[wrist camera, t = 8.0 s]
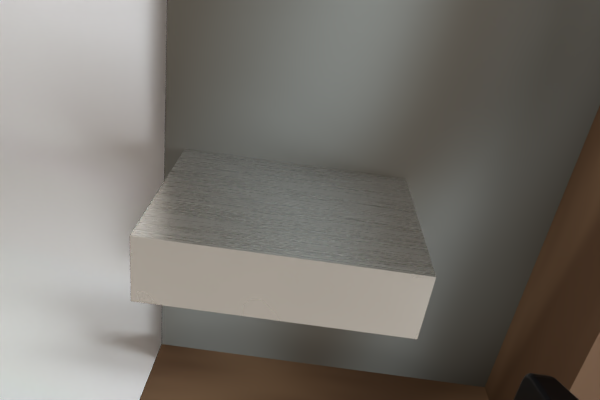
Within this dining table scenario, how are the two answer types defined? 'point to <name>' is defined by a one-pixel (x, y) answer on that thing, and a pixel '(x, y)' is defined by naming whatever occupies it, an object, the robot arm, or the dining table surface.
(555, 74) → the arena
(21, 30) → the dining table surface
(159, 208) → the white stepped block
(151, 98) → the dining table surface
